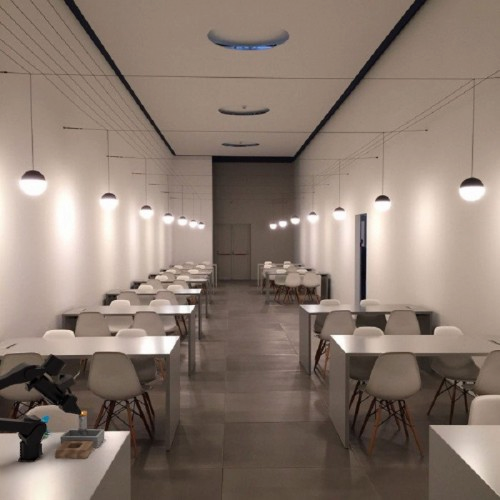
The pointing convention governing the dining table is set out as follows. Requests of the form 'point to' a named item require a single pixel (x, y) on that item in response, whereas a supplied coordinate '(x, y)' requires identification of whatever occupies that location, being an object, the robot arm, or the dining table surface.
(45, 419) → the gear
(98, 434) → the tray
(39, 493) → the dining table surface
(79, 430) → the stop pin
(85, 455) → the wooden socket block
